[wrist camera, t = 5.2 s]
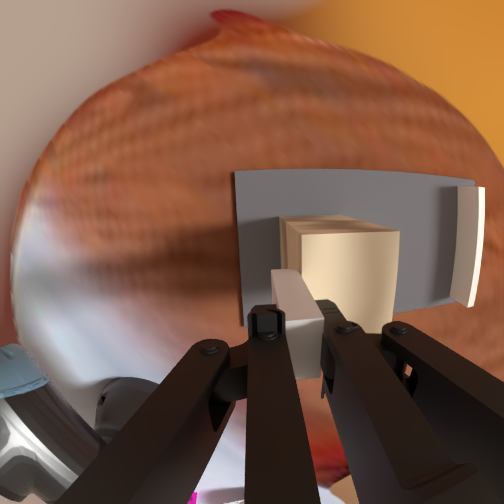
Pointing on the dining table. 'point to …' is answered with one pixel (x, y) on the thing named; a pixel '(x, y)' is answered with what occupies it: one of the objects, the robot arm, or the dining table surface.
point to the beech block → (344, 264)
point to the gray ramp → (358, 207)
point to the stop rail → (468, 244)
